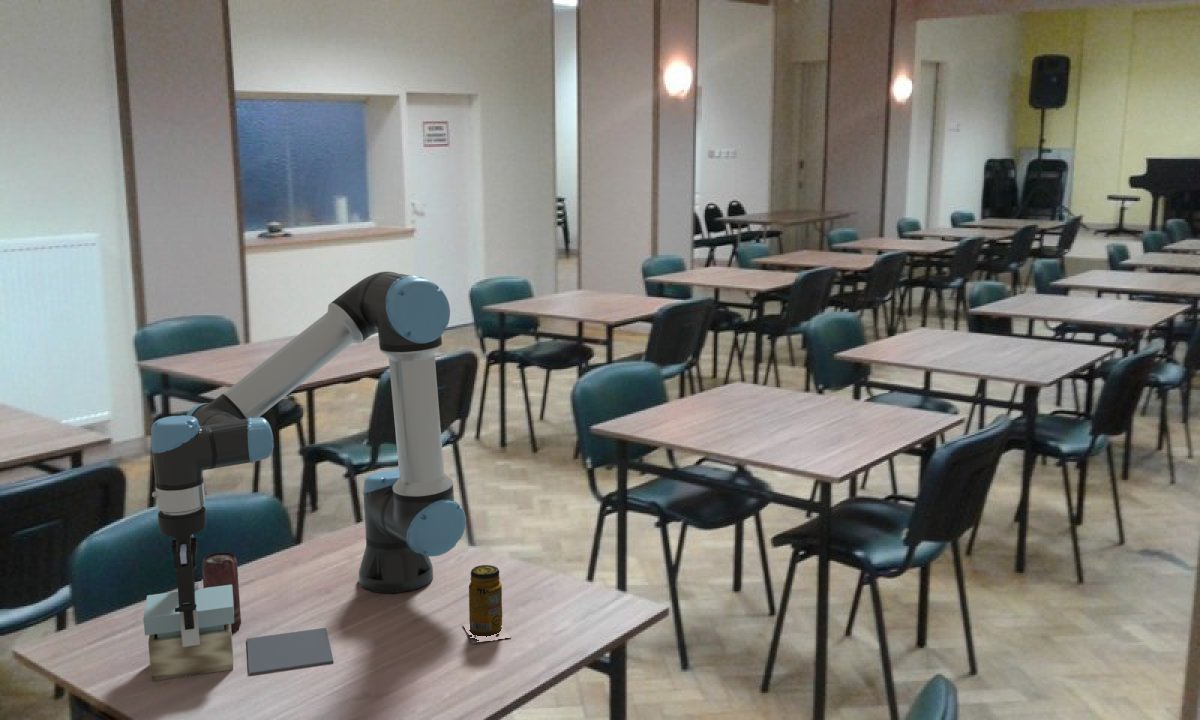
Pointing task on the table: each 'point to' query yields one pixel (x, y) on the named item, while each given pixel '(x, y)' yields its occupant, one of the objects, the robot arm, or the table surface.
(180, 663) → the crate
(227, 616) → the lid
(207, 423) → the robot arm
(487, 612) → the condiment
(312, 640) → the mat
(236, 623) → the can
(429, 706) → the table surface
